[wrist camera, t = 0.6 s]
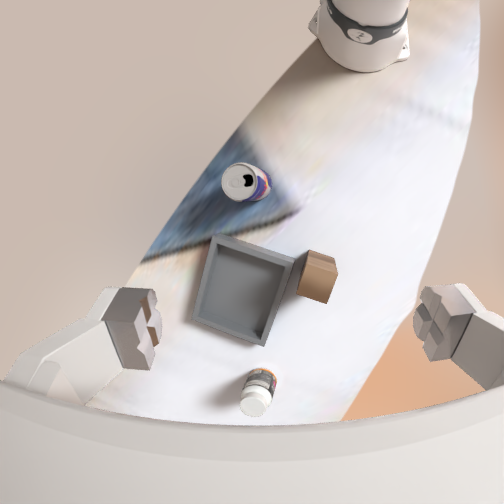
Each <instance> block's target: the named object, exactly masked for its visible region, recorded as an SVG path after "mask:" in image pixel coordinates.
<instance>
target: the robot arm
mask: <svg viewBox="0 0 504 504" xmlns="http://www.w3.org/2000/svg"><path fill="white" fill-rule="evenodd" d="M409 2H410V0H320V4H321V6H320V7H319V8H318V10H317V12H316V13H315V15H314V17H313V18H312V20H311V21H310V23H309V30H310V31H311V32H312V33H313V34H314V35H315V36H316V37H317V38H318V39H319V40H320V42H321V44H322V46H323V48H324V50H325V51H326V53H327V54H328V55H329V56H330V57H331V58H332V59H333V60H334V61H335V62H337V63H338V64H340V65H342V66H344V67H346V68H348V69H351V70H354V71H359V72H375V71H379V70H382V69H384V68H386V67H388V66H389V65H390V64H392V63H394V62H397V61H404V60H407V59H408V58H409V54H410V52H409V39H408V29H407V20H406V18H407V13H408V5H409ZM316 22H317V23H316ZM403 48H404V49H403ZM420 299H421V302H422V303H421V304H420V305H419V306H418V308H417V309H416V311H415V314H414V317H413V327H414V331H415V333H416V335H417V337H418V338H419V339H421V340H422V341H424V344H423V349H424V351H425V353H426V355H427V357H428V359H429V361H430V362H431V361H438V360H444V359H451V360H452V361H453V362H454V363H455V364H456V365H458V366H459V367H460V368H461V369H462V370H463V371H465V372H466V373H467V374H468V375H469V376H470V377H472V378H473V379H474V380H475V381H476V382H477V383H478V384H480V385H481V386H482V387H483V388H484V389H485V390H486V391H483V392H480V393H477V394H474V395H470V396H467V397H463V398H460V399H456V400H453V401H450V402H445V403H442V404H437V405H433V406H429V407H425V408H420V409H416V410H411V411H406V412H401V413H395V414H390V415H384V416H378V417H371V418H364V419H357V420H348V421H339V422H329V423H317V424H301V425H274V426H243V425H216V424H200V423H188V422H177V421H168V420H160V419H152V418H145V417H139V416H132V415H126V414H121V413H115V412H110V411H105V410H100V409H96V408H91V407H87V406H85V404H86V403H87V402H88V401H90V400H91V399H92V398H93V397H94V396H95V395H96V394H97V393H98V392H99V391H101V390H102V389H103V388H104V387H105V386H106V385H107V384H108V383H109V382H110V381H111V380H113V379H114V378H115V377H116V376H117V375H118V374H119V373H120V372H121V371H122V370H123V368H127V369H138V370H150V369H151V366H152V363H153V360H154V357H155V351H154V348H153V347H155V346H156V345H157V344H159V342H160V338H161V333H162V320H161V315H160V312H158V311H157V310H156V309H155V306H156V303H157V298H156V294H155V291H154V290H153V289H143V288H126V287H122V288H121V287H106V288H105V289H104V290H103V291H102V293H101V294H100V296H99V298H98V299H97V300H96V302H95V303H94V305H93V306H92V308H91V309H90V311H89V313H88V314H87V316H86V317H85V319H78V320H77V321H75V322H73V323H72V324H70V325H68V326H66V327H65V328H63V329H61V330H60V331H58V332H56V333H54V334H53V335H51V336H49V337H47V338H46V339H44V340H42V341H41V342H39V343H37V344H36V345H34V346H32V347H30V348H29V349H27V350H25V351H24V352H22V353H21V354H20V355H19V357H18V358H17V360H16V361H15V363H14V365H13V366H12V368H11V369H10V371H9V372H8V374H7V375H6V377H5V379H4V380H3V381H1V380H0V504H504V318H503V317H501V316H499V315H497V314H495V313H493V312H492V311H487V310H486V309H485V308H484V306H483V305H482V304H481V303H480V301H479V300H478V299H477V298H476V296H475V295H474V294H473V293H472V292H471V291H470V289H469V288H468V287H467V286H466V285H465V284H462V283H458V284H450V285H441V286H427V287H425V288H424V289H423V291H422V293H421V296H420Z"/></svg>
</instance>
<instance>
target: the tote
mask: <svg viewBox="0 0 504 504" xmlns="http://www.w3.org/2000/svg"><path fill="white" fill-rule="evenodd" d="M294 261H295V259H294V258H291V257H289V256H286V255H283V254H280V253H277V252H274V251H271V250H268V249H265V248H262V247H259V246H256V245H253V244H250V243H247V242H244V241H241V240H238V239H235V238H232V237H229V236H226V235H223V234H220V233H218V234H216V235H213V237H212V240H211V244H210V248H209V252H208V255H207V259H206V263H205V267H204V271H203V275H202V279H201V283H200V287H199V290H198V295H197V299H196V303H195V307H194V311H193V315H192V320H195V321H197V322H200V323H202V324H205V325H207V326H210V327H212V328H215V329H217V330H220V331H223V332H225V333H228V334H230V335H233V336H236V337H238V338H241V339H244V340H247V341H249V342H252V343H255V344H258V345H260V346H263V347H264V346H265V343H266V340H267V338H268V335H269V332H270V330H271V327H272V324H273V321H274V319H275V316H276V313H277V310H278V307H279V305H280V302H281V299H282V296H283V293H284V290H285V287H286V285H287V282H288V279H289V276H290V273H291V270H292V267H293V264H294Z"/></svg>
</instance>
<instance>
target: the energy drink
mask: <svg viewBox="0 0 504 504" xmlns="http://www.w3.org/2000/svg"><path fill="white" fill-rule="evenodd" d="M221 185H222V189H223V191H224V193H225V194H226V195H227V196H228V197H229V198H230V199H232V200H234V201H238V202H244V201H256V200H262V199H264V198H265V197H267V196H268V195H269V193H270V192H271V189H272V180H271V178H270V176H269V175H268V173H266V172H265V171H263V170H261V169H259V168H257V167H254V166H252V165H250V164H247V163H242V162H241V163H235V164H233V165H231V166H230V167H228V168H227V169H226V170H225V172H224V173H223V176H222V180H221Z"/></svg>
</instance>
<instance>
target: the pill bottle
mask: <svg viewBox="0 0 504 504" xmlns="http://www.w3.org/2000/svg"><path fill="white" fill-rule="evenodd" d="M276 383H277V378H276V376H275V374H274V373H273V372H272V371H271V370H269V369H267V368H257V369H254V370H253V371H252V372H251V373H250V374H249V376H248V379H247V381H246V383H245V386H244V388H243V390H242V393H241V402H240V409H241V410H242V412H243V413H244V414H246V415H248V416H251V417H258V416H261V415H263V414H264V413H265V411H266V408H267V407H268V406H269V405H270V404H271V402H272V398H273V394H274V391H275V387H276Z"/></svg>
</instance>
